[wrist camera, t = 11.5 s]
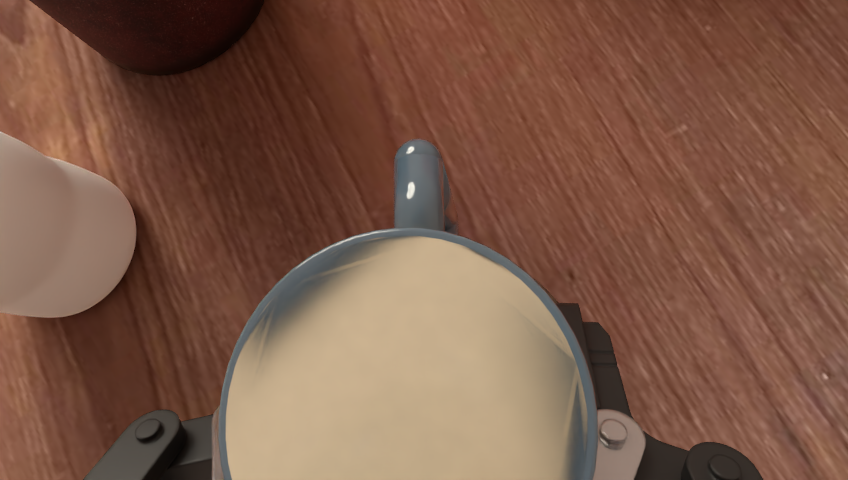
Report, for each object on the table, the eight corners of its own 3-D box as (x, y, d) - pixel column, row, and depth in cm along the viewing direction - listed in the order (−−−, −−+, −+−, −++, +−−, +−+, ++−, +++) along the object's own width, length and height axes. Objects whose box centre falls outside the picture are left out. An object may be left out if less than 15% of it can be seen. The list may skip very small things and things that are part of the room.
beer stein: (369, 469, 18) (200, 626, 8) (371, 228, 21) (240, 94, 10) (544, 472, 18) (620, 650, 7) (528, 220, 20) (566, 65, 9)
